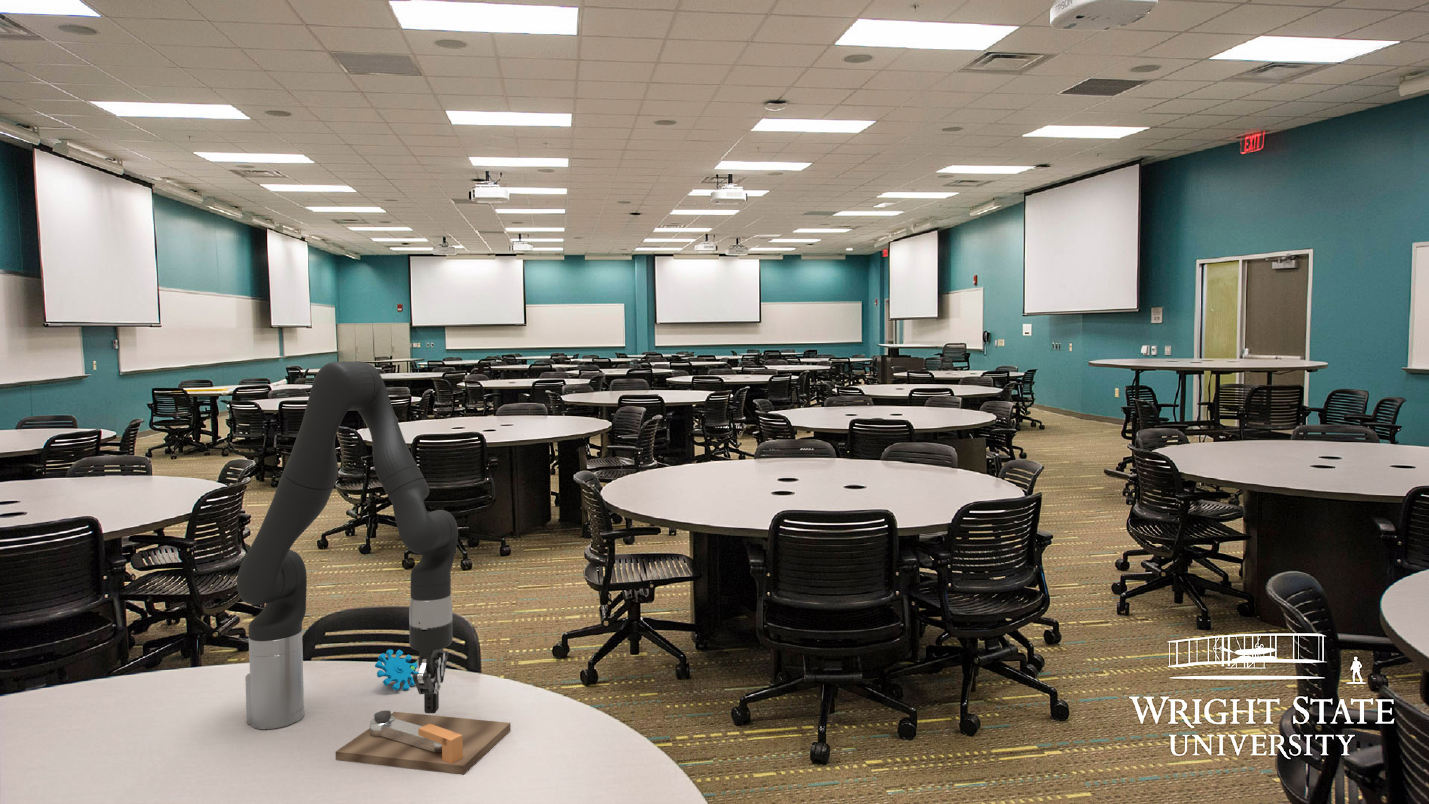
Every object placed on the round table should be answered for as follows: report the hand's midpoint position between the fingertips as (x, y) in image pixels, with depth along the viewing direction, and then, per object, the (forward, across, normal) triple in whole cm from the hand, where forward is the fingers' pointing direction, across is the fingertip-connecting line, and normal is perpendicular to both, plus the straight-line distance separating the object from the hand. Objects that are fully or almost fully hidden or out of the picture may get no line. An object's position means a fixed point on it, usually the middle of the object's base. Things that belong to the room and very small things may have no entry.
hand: (431, 711), depth 148 cm
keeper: (+4, +9, +4) cm, 10 cm away
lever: (+4, +3, -3) cm, 6 cm away
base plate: (+5, +2, 0) cm, 6 cm away
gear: (+6, -27, -16) cm, 31 cm away
